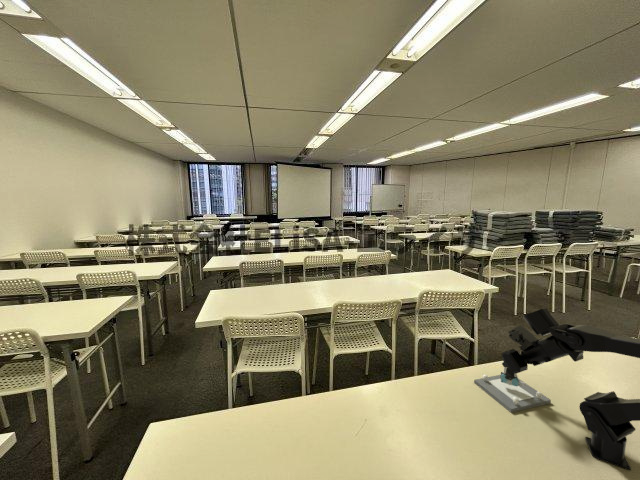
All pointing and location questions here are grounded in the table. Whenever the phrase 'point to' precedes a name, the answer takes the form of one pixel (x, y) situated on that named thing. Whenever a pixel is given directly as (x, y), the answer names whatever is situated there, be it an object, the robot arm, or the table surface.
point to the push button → (509, 377)
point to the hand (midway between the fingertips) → (508, 363)
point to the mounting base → (511, 393)
